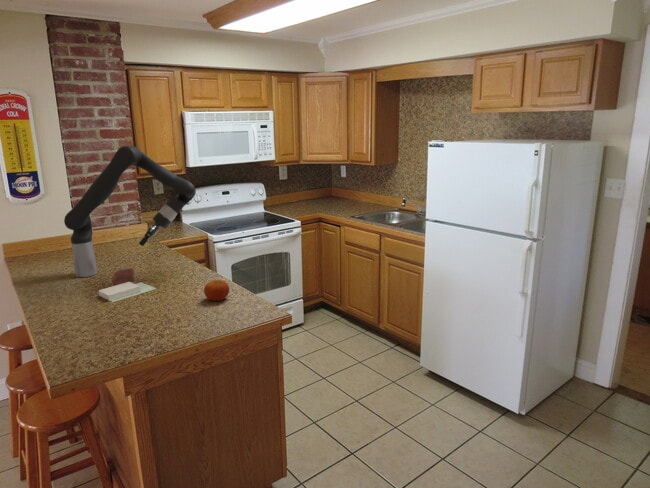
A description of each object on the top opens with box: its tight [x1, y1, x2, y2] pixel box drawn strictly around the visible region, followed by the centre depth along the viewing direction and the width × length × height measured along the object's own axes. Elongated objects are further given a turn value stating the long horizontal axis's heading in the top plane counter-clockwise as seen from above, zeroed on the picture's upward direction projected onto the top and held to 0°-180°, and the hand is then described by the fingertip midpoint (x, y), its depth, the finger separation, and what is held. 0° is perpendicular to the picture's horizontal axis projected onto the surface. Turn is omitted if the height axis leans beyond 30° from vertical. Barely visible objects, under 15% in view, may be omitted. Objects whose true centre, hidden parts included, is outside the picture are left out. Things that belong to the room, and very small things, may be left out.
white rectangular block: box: [98, 282, 141, 302], centre depth 204 cm, size 3×10×14 cm
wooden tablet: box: [112, 267, 136, 286], centre depth 229 cm, size 27×10×2 cm, turn 22°
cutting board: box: [110, 281, 157, 303], centre depth 207 cm, size 20×14×1 cm
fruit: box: [203, 279, 230, 302], centre depth 196 cm, size 11×10×8 cm
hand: (140, 244), depth 216 cm, fingers closed
